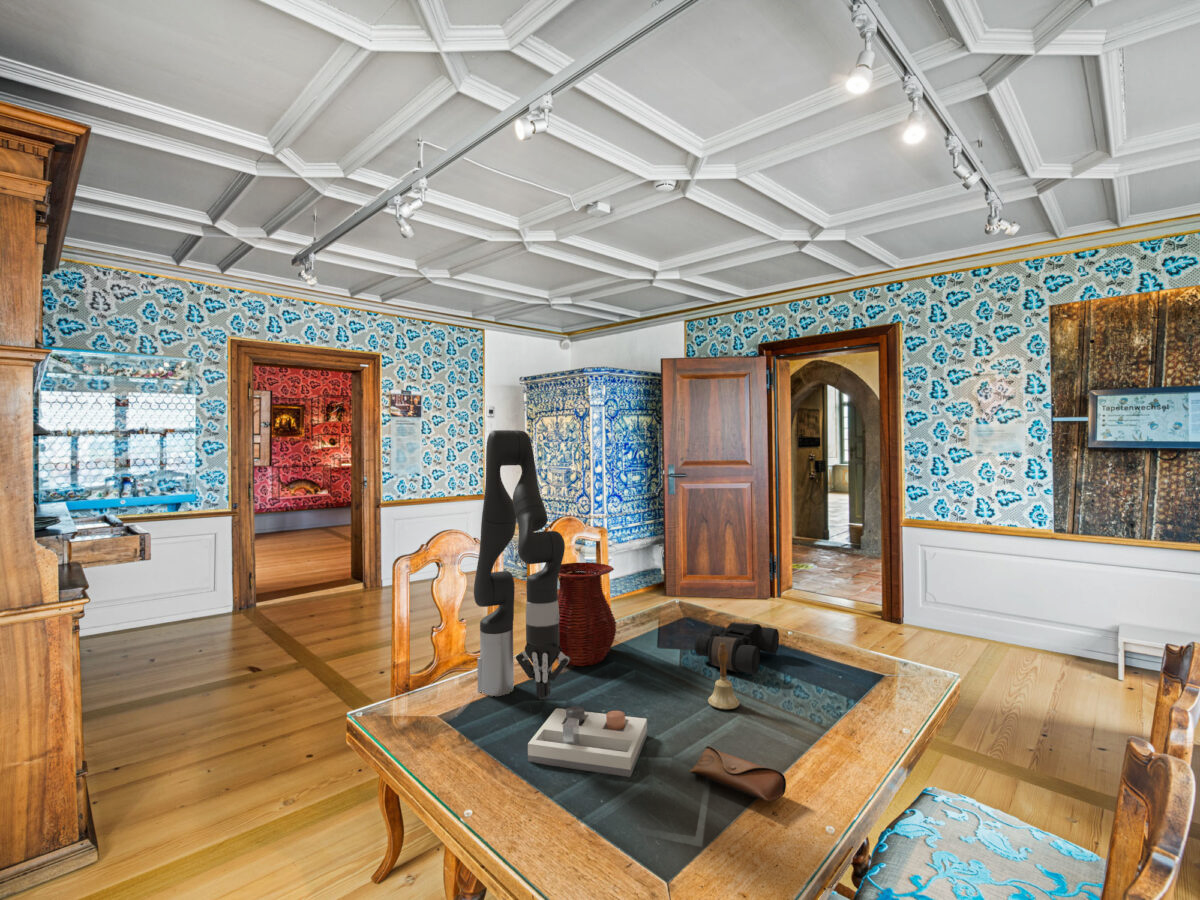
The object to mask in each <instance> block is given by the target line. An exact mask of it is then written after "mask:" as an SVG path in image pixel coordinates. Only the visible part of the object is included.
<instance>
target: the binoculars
mask: <svg viewBox="0 0 1200 900" xmlns="http://www.w3.org/2000/svg"><path fill="white" fill-rule="evenodd" d="M720 643H725V646H726V649H727V653H728V660H727V664H726V671H729V672H731V671H732V672H734V673H739V672H744V673H746V674H753V675H756V674H757V673H758V670H759V668H760V664H761V663H760V662H761V652H764V653H768V654H776V653H777V652H778V648H779V643H780V635H779V630H778V629H777V628H773V627H766V626H765V627H764V626H763V627H762V625H760V624H759V623H752V622H751V623H749V622H735V621H734V622H731V623H729V625H728V626H727V627H726V626H725V627H724V626H720V625H717V624H714V625H712V626H711V628H710V631H709V636H708V635H703V634H698V635H697V636H696V638H695V641H694V651H695V654H696V655H697V656H700V657H702V656H703V657H707V658H708V659H707V660H708V662H709V664H710V665H712V666H715V667H718V668H720V664H719V660H718V650H719V647H720Z"/></svg>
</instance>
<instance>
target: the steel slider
mask: <svg viewBox="0 0 1200 900" xmlns="http://www.w3.org/2000/svg"><path fill="white" fill-rule="evenodd" d="M563 744H570V745H579V719H575V718H568V719H567V721H566V722H565V724H564V725H563Z"/></svg>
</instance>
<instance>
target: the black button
mask: <svg viewBox="0 0 1200 900" xmlns="http://www.w3.org/2000/svg"><path fill="white" fill-rule="evenodd" d="M565 709H566V721H567V719H568V718H575V719H579V725H580V724H583V723H584V721H585V720H584V712H585V708H584V707H583V706H580V705H573V706H571V705H570V706H568V707H567V708H565Z"/></svg>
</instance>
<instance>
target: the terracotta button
mask: <svg viewBox="0 0 1200 900" xmlns="http://www.w3.org/2000/svg"><path fill="white" fill-rule="evenodd" d="M605 714H606V726H607V728H608V729H610V730H622V729H624V728H625V716H626V713H625V712H624V711H621V710H611V711H608V712H607V713H605Z"/></svg>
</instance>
